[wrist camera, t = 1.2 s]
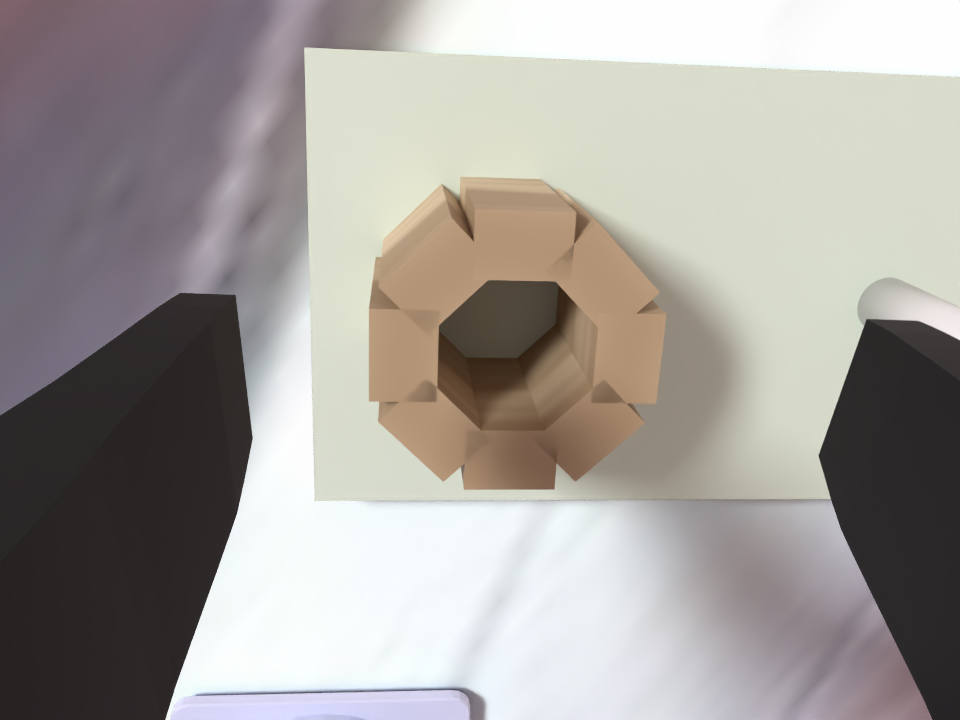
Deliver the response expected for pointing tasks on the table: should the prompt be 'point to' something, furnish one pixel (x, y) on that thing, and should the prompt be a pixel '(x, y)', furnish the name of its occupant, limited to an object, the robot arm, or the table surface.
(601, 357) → the bead
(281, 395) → the table surface
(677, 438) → the board
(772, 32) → the table surface
